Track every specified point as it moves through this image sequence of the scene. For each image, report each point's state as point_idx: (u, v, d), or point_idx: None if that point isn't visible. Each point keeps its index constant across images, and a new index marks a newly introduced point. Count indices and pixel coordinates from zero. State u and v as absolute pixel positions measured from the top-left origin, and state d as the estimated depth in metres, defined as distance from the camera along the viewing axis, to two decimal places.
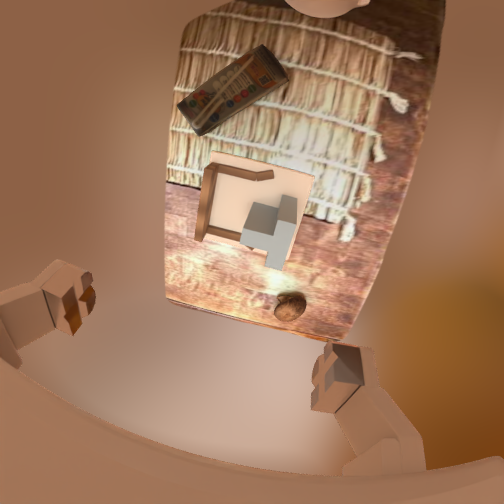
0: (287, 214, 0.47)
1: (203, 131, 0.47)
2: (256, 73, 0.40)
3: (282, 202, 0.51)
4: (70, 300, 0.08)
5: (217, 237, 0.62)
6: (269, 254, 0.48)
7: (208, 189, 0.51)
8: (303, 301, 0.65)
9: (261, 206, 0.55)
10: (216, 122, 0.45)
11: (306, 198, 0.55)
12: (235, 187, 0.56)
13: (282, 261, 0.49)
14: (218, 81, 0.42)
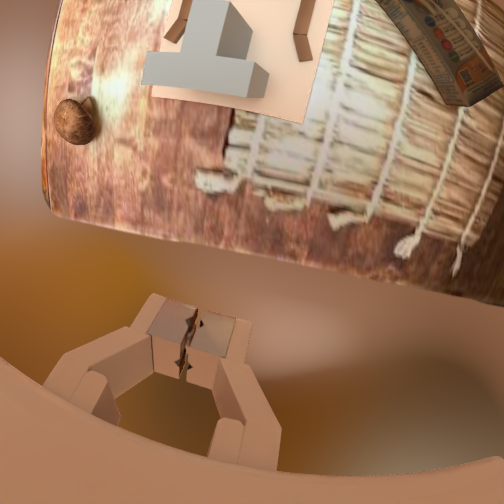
0: (256, 80, 0.21)
1: None
2: (473, 68, 0.19)
3: (264, 73, 0.25)
4: (183, 343, 0.08)
5: None
6: (173, 55, 0.18)
7: None
8: (89, 138, 0.33)
9: (247, 42, 0.25)
10: None
11: (264, 112, 0.31)
12: (277, 5, 0.23)
13: (161, 82, 0.20)
14: (458, 16, 0.16)
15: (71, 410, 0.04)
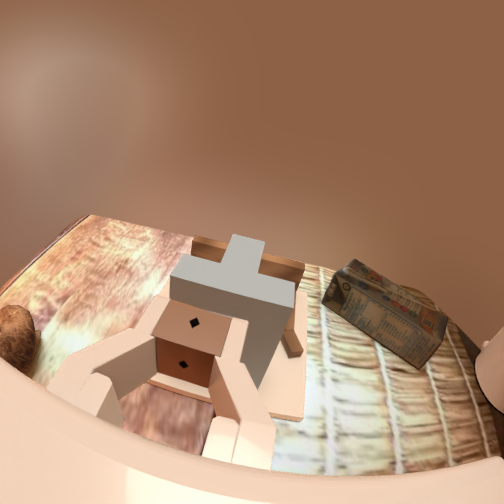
0: None
1: (342, 277, 0.39)
2: (427, 315, 0.34)
3: None
4: None
5: None
6: (213, 263, 0.22)
7: (276, 262, 0.37)
8: (19, 365, 0.19)
9: None
10: (359, 287, 0.37)
11: None
12: None
13: (196, 280, 0.20)
14: (398, 289, 0.39)
15: (71, 410, 0.04)
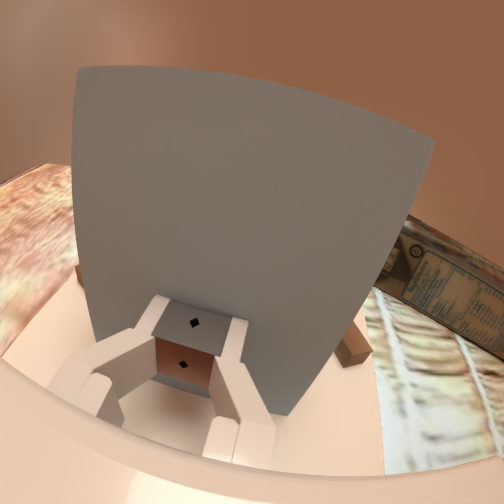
0: None
1: (409, 235, 0.21)
2: None
3: None
4: None
5: None
6: None
7: None
8: None
9: None
10: (438, 251, 0.20)
11: None
12: None
13: (142, 66, 0.06)
14: (472, 252, 0.22)
15: (71, 410, 0.04)
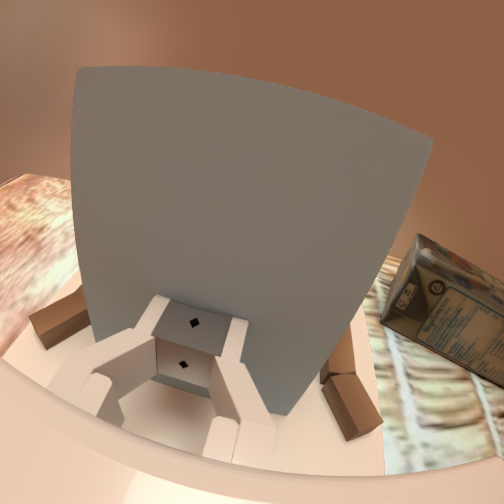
0: None
1: (429, 269, 0.17)
2: None
3: None
4: None
5: None
6: None
7: None
8: None
9: None
10: (462, 287, 0.16)
11: None
12: None
13: (140, 66, 0.06)
14: (492, 279, 0.19)
15: (71, 410, 0.04)
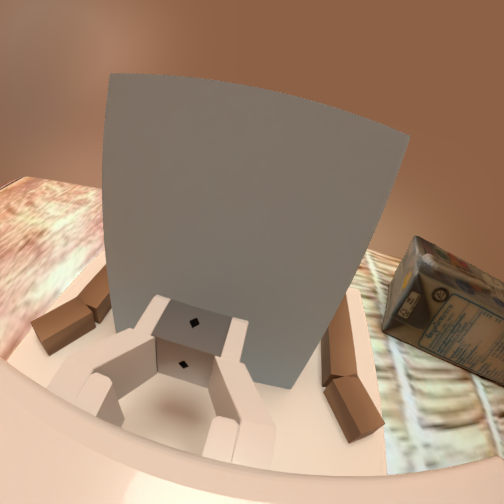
0: None
1: (433, 277, 0.16)
2: None
3: None
4: None
5: None
6: None
7: None
8: None
9: None
10: (465, 293, 0.15)
11: None
12: None
13: (167, 75, 0.07)
14: (491, 279, 0.19)
15: (71, 410, 0.04)
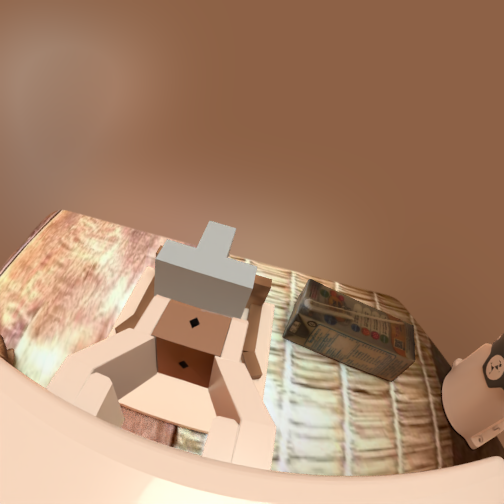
0: None
1: (307, 315, 0.35)
2: (396, 334, 0.35)
3: None
4: None
5: (142, 288, 0.37)
6: (191, 248, 0.27)
7: None
8: None
9: None
10: (327, 324, 0.34)
11: None
12: None
13: (176, 263, 0.25)
14: (362, 307, 0.38)
15: (71, 410, 0.04)
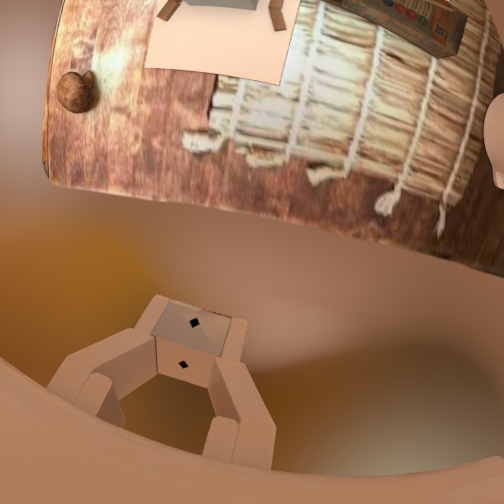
0: None
1: None
2: (440, 19, 0.19)
3: None
4: None
5: None
6: None
7: None
8: (87, 106, 0.34)
9: None
10: None
11: (244, 75, 0.32)
12: None
13: None
14: None
15: (71, 410, 0.04)
